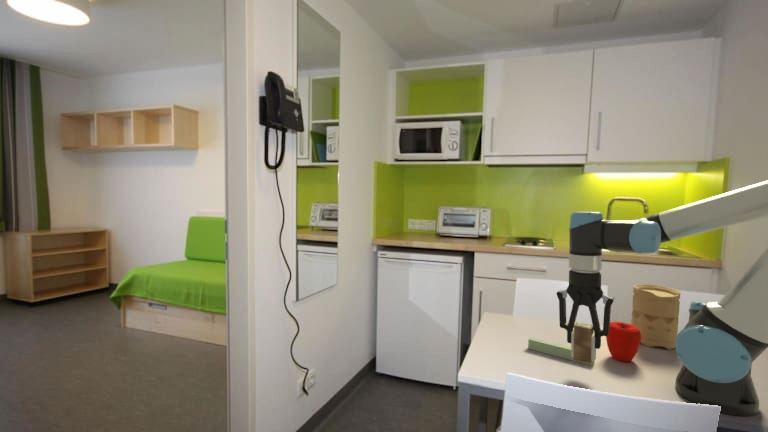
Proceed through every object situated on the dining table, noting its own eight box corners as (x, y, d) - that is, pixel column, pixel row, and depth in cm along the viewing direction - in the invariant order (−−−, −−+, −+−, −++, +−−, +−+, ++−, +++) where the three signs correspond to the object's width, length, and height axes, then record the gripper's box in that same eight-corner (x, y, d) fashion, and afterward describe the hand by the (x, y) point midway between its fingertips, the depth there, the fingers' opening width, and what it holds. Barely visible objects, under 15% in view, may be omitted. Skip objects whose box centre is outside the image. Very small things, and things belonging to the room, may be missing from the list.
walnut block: (593, 358, 99) (593, 324, 99) (590, 363, 96) (591, 328, 96) (576, 354, 102) (576, 321, 101) (573, 359, 99) (574, 325, 98)
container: (686, 350, 118) (690, 294, 117) (647, 349, 118) (650, 293, 117) (657, 334, 131) (661, 284, 129) (621, 334, 131) (625, 283, 129)
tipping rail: (594, 362, 108) (594, 352, 108) (593, 365, 106) (593, 355, 106) (530, 346, 119) (530, 337, 119) (528, 348, 117) (528, 339, 117)
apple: (633, 354, 114) (635, 320, 113) (644, 367, 106) (647, 330, 105) (600, 350, 116) (602, 316, 116) (609, 363, 108) (611, 326, 107)
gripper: (624, 271, 96) (622, 360, 97) (553, 264, 106) (552, 345, 107) (621, 276, 90) (619, 371, 91) (546, 268, 100) (545, 354, 101)
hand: (583, 357), depth 99 cm, fingers closed on walnut block, 4 cm apart
